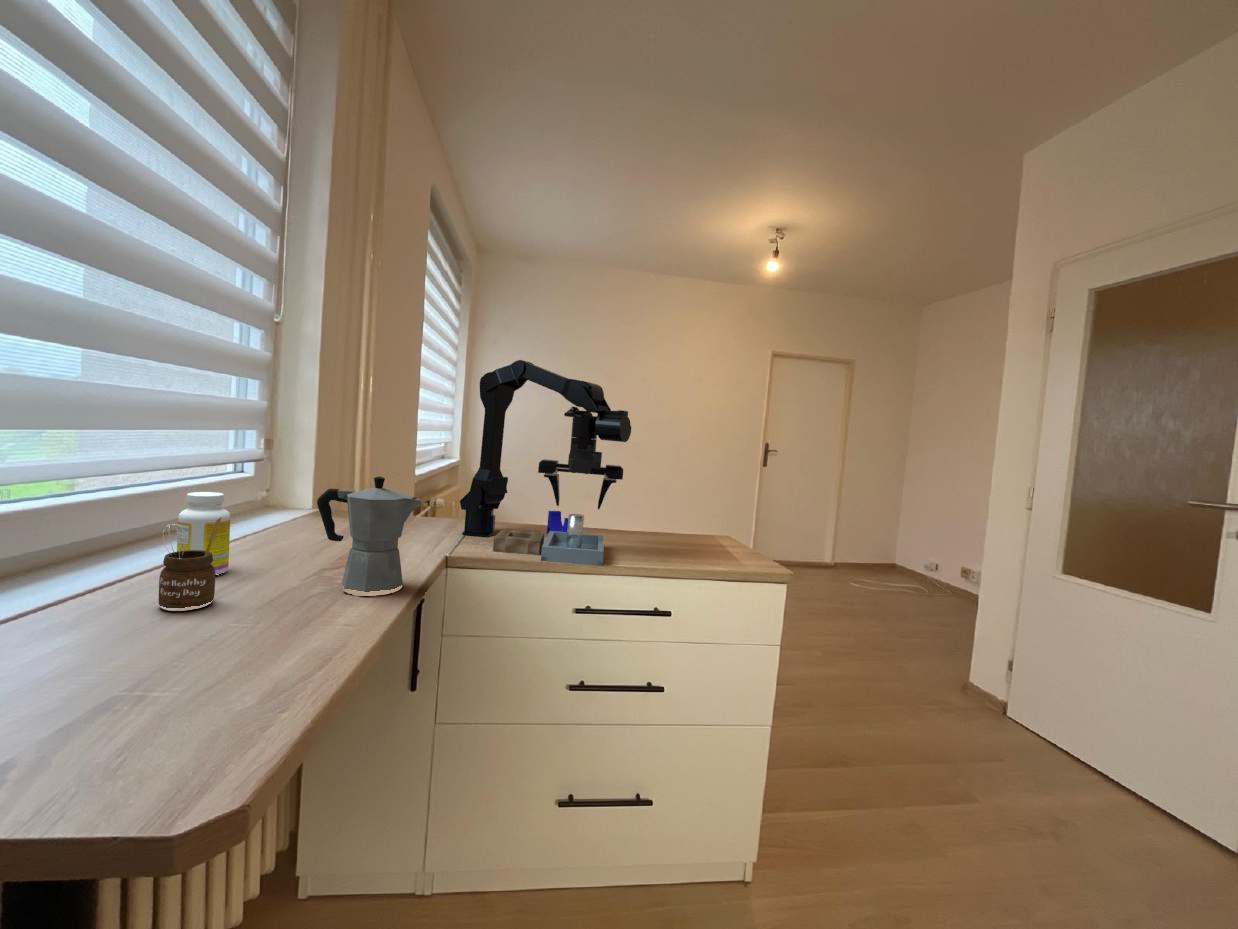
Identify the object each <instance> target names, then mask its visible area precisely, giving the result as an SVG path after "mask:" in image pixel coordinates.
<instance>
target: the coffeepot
mask: <svg viewBox="0 0 1238 929" xmlns="http://www.w3.org/2000/svg"><path fill="white" fill-rule="evenodd" d="M385 479H386V478H385V477H382V476H374V477H373V481H374V487H372V488H367V489H362V490H357V491H355V490H351V489H340V488H328V489H326V490H325V491H324V492H323V493H321V495H319V497H318V498H317V499H316V505H317V508H318V511H319V514H320V516H321V521H322V523H323V526H324V530H325V533H326V537H327V539H328V541H333V542H342V541H343V539H344V535H341V534H340V535H339V534H337V533H336V531H335V530H336V529H335V528H336V525H335V521H334V519H333V513H332V508H331V505H330V502H331V501H336V502H340V503H345V504H347V511H348V512H347V513H348V523H349V532H350V533H349V535H350V536H351V538H352V543H351V548H350V549H349V553H348V555H347V561H346V565H345V568H344V572H343V576H342V582H341V584H342V585H343V586H344V589H351V590H357V591H364V592H370V591H380V590H391V589H395V588H397V587H399V586H401V585H403V586H404V582H403V574H402V565H401V563H402V562H401V558H400V557H401V555H400V550H399V538H402V534H403V530H404V525H405V523H406V521H407V520H408V518H409V517H410V515H411V514H412V513H413V511H414V510H415V509H416V507H417V506H418V505H419V504H423V500H422V499H421V498H418V497H416V496H412V495H409V494H408V495H407V494H405V493H402V492H398V491H395V490H391V489H387V488H383V487H384V485H385V484H384V483H385Z"/></svg>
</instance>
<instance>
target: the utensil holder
mask: <svg viewBox="0 0 1238 929" xmlns="http://www.w3.org/2000/svg"><path fill="white" fill-rule="evenodd" d="M221 518H222V517H220V518H219V519H217V520H216V523H215V525H214V528H213V530H212V533H211V535H210V538H209V544H208V547H207V550H206V551H203V550H186V551H184V550H185V548H184V550H183V551H181V545H180V550H179V551H177V550H176V551H175V550H174V547H173V542H172V538H171V536H168V538H169V543H170V546H171V550H172V552H170V551H169V550H168V547H167V545H166V540H165V535H164V534H165V530H166V528H163V531H162V539H163V544H164V546H165V548H166V550H167V552H168V553H166V554H165V555H164V559H163V561H162V562H163V565H164V567H163V568H162V570H161V572H160V574H159V581H158V606H159V605H160V606H163V607H166V608H185V607H191V606H200V605H203V604H206V603H208V602H211V601H212V600H213V599H214V598H215V591H216V589H215V588H216V576H215V569H214V567H213V566H212V565H211V563H212V562H213V555H212V553H211V552H209V550H210V547H211V545H212V542H213V540H214V539H215V537H216V534H217V531H218V528H219V525H220V521H221ZM171 526H174V528H175V530H176V534H177V532H178V526H180V525H178V523H170V524H168V525H166V527H167V528H168V529H167V532H168V535H171V532H170V531H171ZM176 526H177V527H176ZM180 527H181V526H180ZM181 528H182V527H181ZM182 530H183V529H182ZM183 534H184V531H183ZM176 536H179V534H177V535H176ZM184 540H185V535H184ZM179 541H180V538H179V539H178V542H179ZM185 545H186V540H185V544H184V547H185ZM213 601H214V600H213Z"/></svg>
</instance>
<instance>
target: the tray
mask: <svg viewBox="0 0 1238 929" xmlns="http://www.w3.org/2000/svg"><path fill="white" fill-rule="evenodd" d="M566 540H567V532H558V531H550V532H549V533H547V536H546V538H545V539H544V544H543V545H542V549H541V551H540V555H541V556H540V561H541V562H551V563H552V562H553V563H554V562H555V563H566V564H577V565H578V564H579V565H588V566H589V565H591V566H603V562H604V555H605V554H604V552H605V550H604V548H605V547H604V534H595V533H594V534H590V533H583V535H582V546H581V548H569V547H566Z"/></svg>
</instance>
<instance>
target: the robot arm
mask: <svg viewBox="0 0 1238 929" xmlns="http://www.w3.org/2000/svg"><path fill="white" fill-rule="evenodd" d="M527 381H529V382H532V383H534V384H537V385H539V386H541V387H544V388H546V389H549V390H551V391H554V392H556V393H558V394H560V395H561V396H562V397H563V398H564V399H565V400H567V401H568V402H569V403H571V404H572V405H573V406H571V407H570V409H568V410H567V411H566V412H564V414H563V415H564V417H569V418H572V423H571V434H570V435H571V436H570V437H571V438H570V446H569V448H570V450H569V454H568V458H567V459H568V460H567V463H559V460H554V459H547V458H546V459H542V460H540V461H539V463H538V468H537V469H538V470H537V473H538V474H543V477H544V478H547V479H548V481H549V483H550V484H551V485H550V486H551V488H552V491H553V496H554V499H555V503H556V507H559V505H560V474H559V472H561V473H563V472H564V473H571V474H584V475H598V476H603V479H602V484H601V488H600V492H599V496H598V502H597V510H600V509H601V506H602V505H603V501H604V499H605V496H606V494H607V492H608V490H609V488H610V487H611V485H612V484H616V483H617V482H618V481H619V480H620V481H621V480H623V479H624V478H623V477H624V468H623V467H622V466H621V465H616V464H605V466H602V459H603V458H602V456H603V452H602V451H596V450H597V437H598V438H599V439H600V440H601V441H609V442H617V443H618V442H620V443H627V442H628V441H629V439H630V437H631V433H632V426H631V420H630V418H629V411H628V410H622V409H621V410H619V409H618V410H612V409H611V407H610V406H609V404H608V402H607V400H606V398H605V393H604V390H603V389H604V388H603V387H602V386H601V385H599V384H597V383H593V382H590V381H585V380H579V379H573V378H567V377H565V376H563V375H561V374H558V373H555V372H552V371H550V370H548V369H545V368H542V367H540V366H539V365H535V364H534V363H533V362H531V361H526V360H523V359H518V360H516V361H514V362H512V363H510V364H509V365H506V366H502V367H499V368H496V369H495V370H493V371H489V372H487V373H484V375H482V376H481V378H480V380H479V397H480V400H481V403H482V405H483V408H484V413H483V414H484V417H483V427H482V437H481V451H480V460H479V468H478V469H477V471H476V473H475V474H474V476H473V478H472V480H471V484H470V489H469V491H468V492H467V493H466V494H465V495H464V496H463V497H462V498H461V499H460V500H459V503H460V504H459V505H460V509H461V510H464V511H465V515H464V516H465V517H464V518H465V519H464V530H463V531H462V532H461V533H462V534H461V535H464V536H474V537H475V536H477V537H488V538H489V537H490V536H491V535H492V534H493V533H494V532H495V527H496V515H494V510H498V509H499V508H500V504H501V502H502V501H503V500H504V499H505V496H506V494H508V483H509V479H508V478H509V477H508V476H504V475H503V473H502V471H501V462H502V453H503V452H502V451H503V441H504V440H503V439H504V431H505V420H506V413H507V410H508V408H509V407H510V405H512V404H511V403H512V402H513V398H514V395H515V392H516V391H517V390H520V389H521V388H522V387H524V385H525V384H526V383H527ZM579 408H583V409H584V410H580V409H579ZM593 413H594V414H597V416H596V415H595V416H594V415H593ZM617 480H618V481H617Z"/></svg>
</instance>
